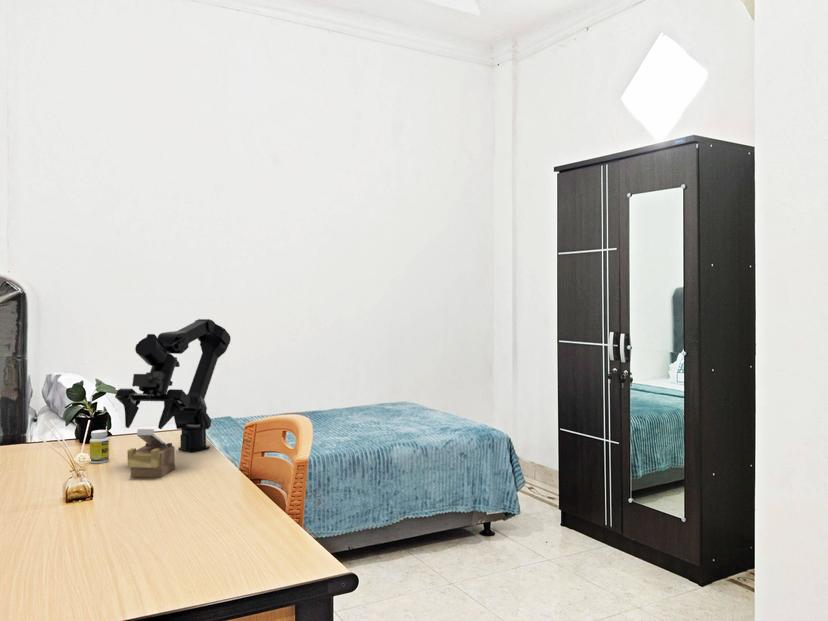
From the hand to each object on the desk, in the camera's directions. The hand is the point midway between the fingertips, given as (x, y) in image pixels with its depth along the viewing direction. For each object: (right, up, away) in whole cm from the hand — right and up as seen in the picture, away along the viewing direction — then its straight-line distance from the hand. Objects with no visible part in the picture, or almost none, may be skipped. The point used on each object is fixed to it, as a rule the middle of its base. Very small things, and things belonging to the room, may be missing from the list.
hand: (143, 427), depth 177 cm
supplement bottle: (-16, -11, +11) cm, 23 cm away
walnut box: (+3, -11, -2) cm, 12 cm away
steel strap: (+3, -3, -2) cm, 4 cm away
